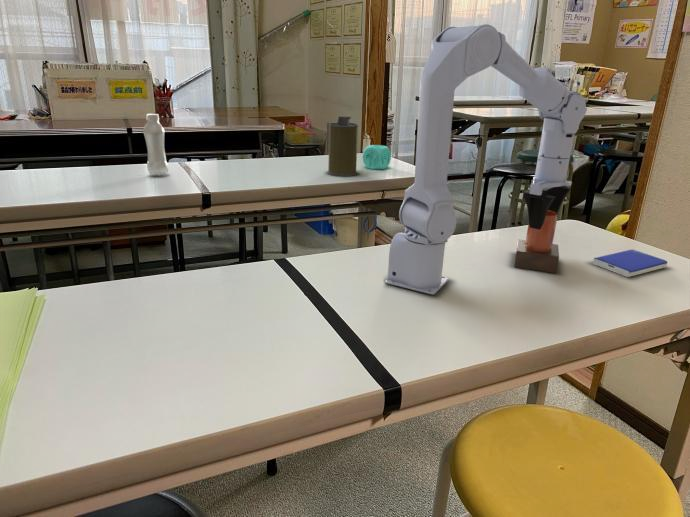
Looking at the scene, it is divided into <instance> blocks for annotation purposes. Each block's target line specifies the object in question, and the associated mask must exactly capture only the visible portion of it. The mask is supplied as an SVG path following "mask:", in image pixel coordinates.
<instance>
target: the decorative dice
mask: <svg viewBox="0 0 690 517" xmlns="http://www.w3.org/2000/svg"><path fill="white" fill-rule="evenodd" d="M391 159H392V152H391V149H389V147H388V146H386V145H384V144H383V145H382V144H369V145H367V146H366V147H365V148H364V150H363V153H362V163H363V165H364V166H365V167H366V169H369V170H385V169H387V168H388V167H389V166H390V164H391Z"/></svg>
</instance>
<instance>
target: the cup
mask: <svg viewBox="0 0 690 517" xmlns="http://www.w3.org/2000/svg"><path fill="white" fill-rule="evenodd" d="M558 218H559V212H558V213H557V212H554V211H551V210H548V211H547V213H546V216H545V219H544V223H543V225H542V227H541V229H540V230H539V229H534V228H530V227H529V223H528V226H527V232H526V236H525V240H526V242H525V247H526V248H528V249H530V250H533V251H538V252H548V251H551V249H552V244H554V239H555V233H556V227H557V223H558Z"/></svg>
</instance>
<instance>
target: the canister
mask: <svg viewBox="0 0 690 517" xmlns="http://www.w3.org/2000/svg"><path fill="white" fill-rule="evenodd" d="M350 119H352V116H349V115H340V116H338V118H337V122H336V121H335V122H333V121H329V122H327V124H326V129H327V130H326V155H328V166H327V167H328V169H327V174H328V175H330V176H334V177H353V176H355V175H357V162H358V161H357V158H358V157H357V156H358V133H359V132H358V131H359V124H358V123H355V122H350Z"/></svg>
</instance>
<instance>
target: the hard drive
mask: <svg viewBox="0 0 690 517" xmlns="http://www.w3.org/2000/svg"><path fill="white" fill-rule="evenodd" d="M592 264H593V265H595V266H597V267H600V268H603V269H605V270H608V271H611V272H614V273H616V274H619V275H621V276H624V277H626V278H630V277H634V276H637V275H642V274H645V273H650V272H653V271H657V270H660V269H664V268H667V266H668V261H667V260H665V259H663V258H660V257H657V256H654V255H650V254H648V253H645V252H642V251H639V250H636V249H634V248H633V249H627V250H623V251H618V252H614V253H609V254H605V255H601V256H597V257H593V260H592Z"/></svg>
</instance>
